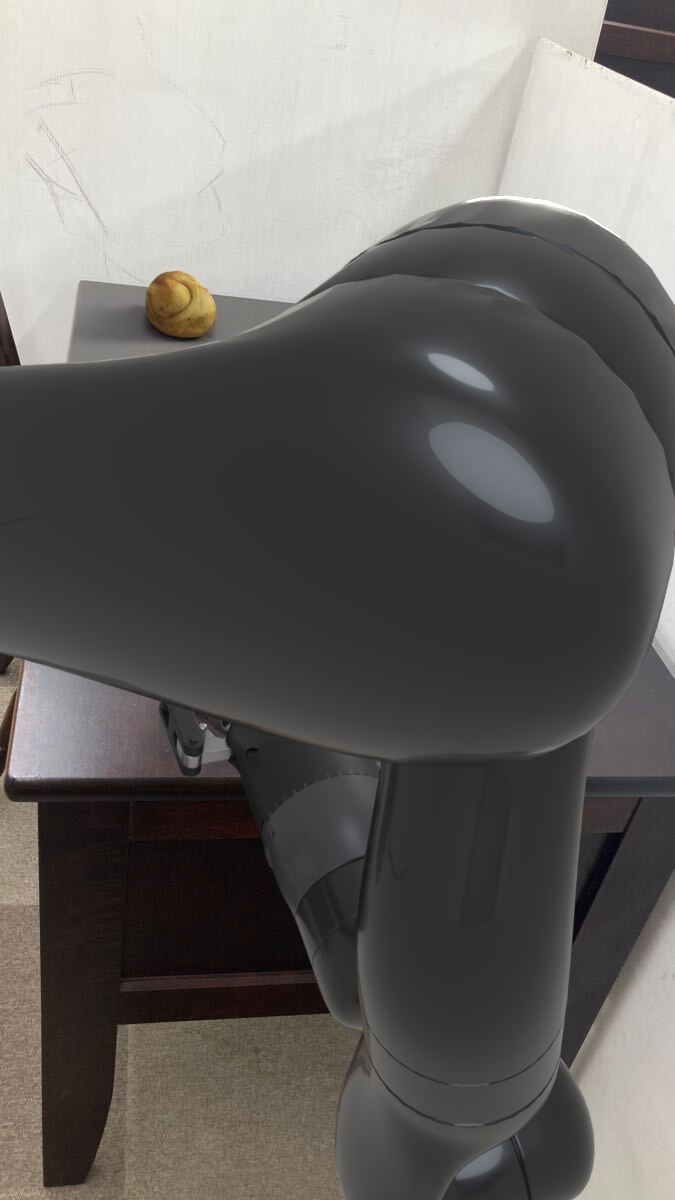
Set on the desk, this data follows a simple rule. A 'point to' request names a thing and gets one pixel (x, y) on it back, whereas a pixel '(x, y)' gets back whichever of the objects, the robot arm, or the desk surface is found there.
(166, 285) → the bread roll
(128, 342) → the desk surface
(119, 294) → the desk surface
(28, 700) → the desk surface
